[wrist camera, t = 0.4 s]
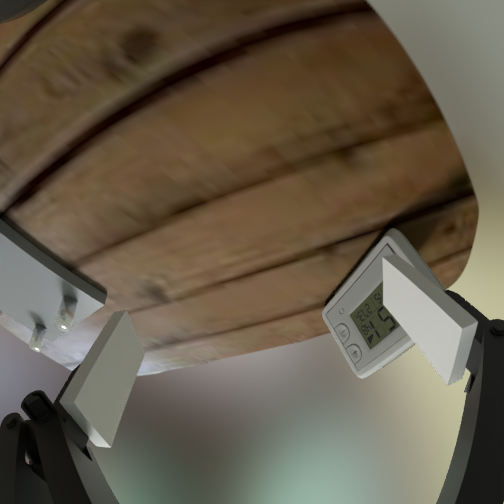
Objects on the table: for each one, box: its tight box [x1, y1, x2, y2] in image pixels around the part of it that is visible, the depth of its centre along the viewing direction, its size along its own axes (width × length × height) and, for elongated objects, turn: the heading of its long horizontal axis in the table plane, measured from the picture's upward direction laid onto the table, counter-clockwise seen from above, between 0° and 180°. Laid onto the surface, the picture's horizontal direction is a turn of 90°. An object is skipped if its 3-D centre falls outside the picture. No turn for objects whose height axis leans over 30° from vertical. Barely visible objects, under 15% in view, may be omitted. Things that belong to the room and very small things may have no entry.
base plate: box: [0, 219, 107, 352], centre depth 30 cm, size 20×20×6 cm
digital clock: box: [322, 228, 446, 378], centre depth 31 cm, size 16×9×11 cm, turn 149°
